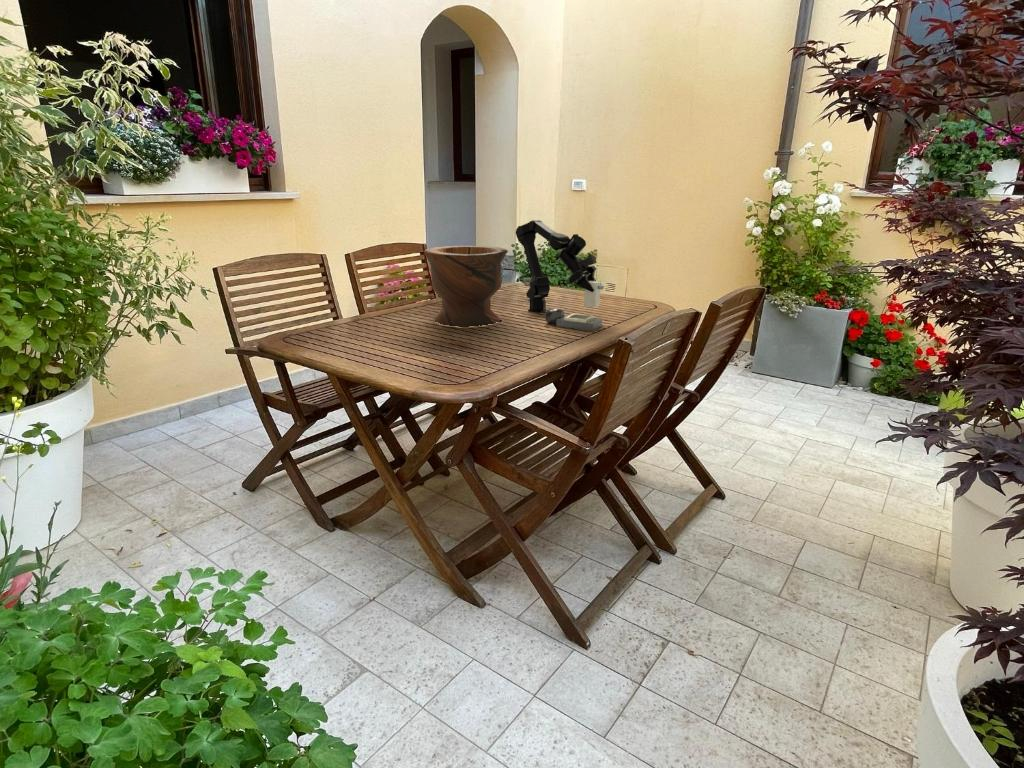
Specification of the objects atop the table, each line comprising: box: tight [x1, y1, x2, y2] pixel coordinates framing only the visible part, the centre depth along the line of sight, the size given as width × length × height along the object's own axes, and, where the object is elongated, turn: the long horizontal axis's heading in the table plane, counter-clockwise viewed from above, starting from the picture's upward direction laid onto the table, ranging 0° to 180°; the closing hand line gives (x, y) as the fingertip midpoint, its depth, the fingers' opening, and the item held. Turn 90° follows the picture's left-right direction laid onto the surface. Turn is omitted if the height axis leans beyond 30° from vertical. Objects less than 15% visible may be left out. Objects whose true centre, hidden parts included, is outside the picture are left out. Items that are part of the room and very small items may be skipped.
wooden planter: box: [423, 245, 508, 327], centre depth 255 cm, size 34×35×29 cm
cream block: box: [583, 280, 604, 308], centre depth 253 cm, size 7×5×10 cm
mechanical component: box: [521, 277, 531, 287], centre depth 303 cm, size 3×10×10 cm, turn 89°
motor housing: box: [544, 308, 603, 332], centre depth 250 cm, size 22×10×6 cm, turn 62°
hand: (595, 290), depth 252 cm, fingers closed on cream block, 5 cm apart
